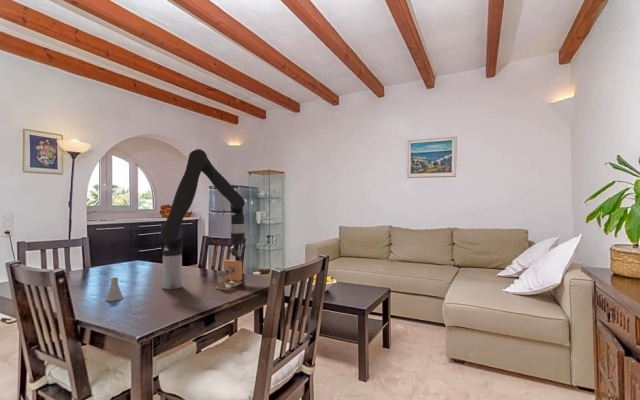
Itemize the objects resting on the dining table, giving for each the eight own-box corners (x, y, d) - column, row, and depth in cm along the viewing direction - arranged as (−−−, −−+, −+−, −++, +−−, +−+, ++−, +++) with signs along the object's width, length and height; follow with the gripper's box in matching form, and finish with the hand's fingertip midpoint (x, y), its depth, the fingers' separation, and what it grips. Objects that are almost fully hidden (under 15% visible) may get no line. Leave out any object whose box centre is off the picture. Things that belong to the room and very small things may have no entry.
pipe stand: (225, 290, 169) (225, 271, 169) (215, 289, 171) (215, 271, 171) (241, 283, 183) (241, 266, 183) (232, 282, 185) (232, 265, 185)
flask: (104, 302, 149) (104, 280, 149) (106, 298, 155) (106, 277, 155) (122, 300, 152) (122, 278, 152) (124, 296, 159) (123, 275, 159)
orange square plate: (223, 278, 181) (223, 260, 181) (226, 277, 183) (226, 259, 183) (239, 280, 177) (239, 261, 177) (242, 279, 179) (241, 260, 179)
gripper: (238, 230, 192) (238, 260, 192) (224, 232, 179) (224, 264, 179) (250, 231, 189) (250, 261, 189) (236, 233, 177) (236, 265, 177)
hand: (237, 262), depth 184 cm, fingers closed
